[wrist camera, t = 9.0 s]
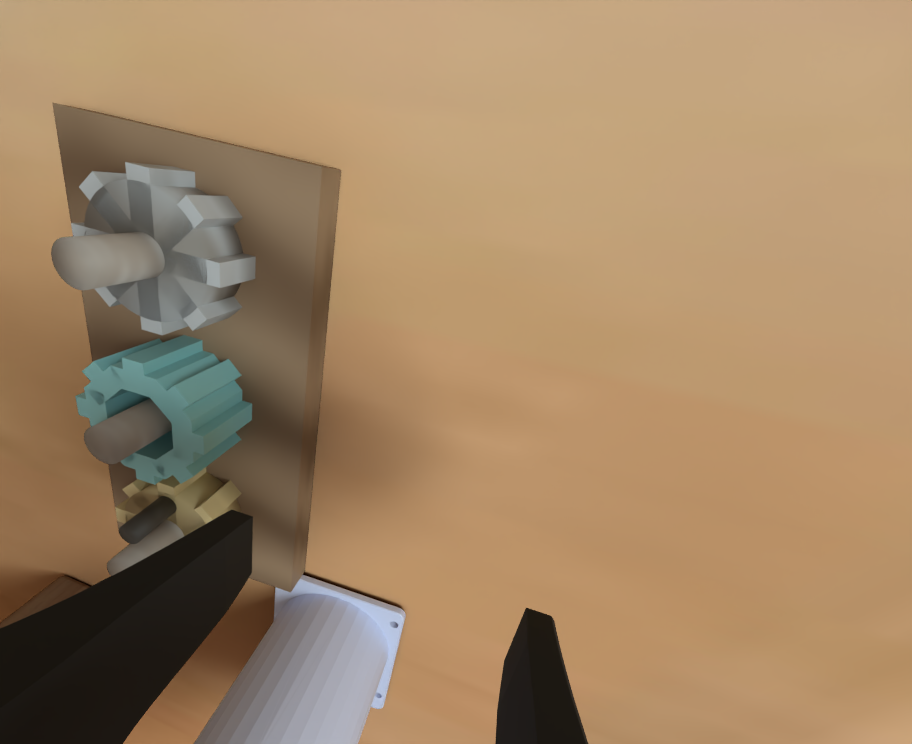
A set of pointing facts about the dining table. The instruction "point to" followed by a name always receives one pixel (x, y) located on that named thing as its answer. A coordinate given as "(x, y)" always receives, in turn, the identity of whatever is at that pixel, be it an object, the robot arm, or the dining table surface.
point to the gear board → (254, 333)
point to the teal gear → (170, 403)
